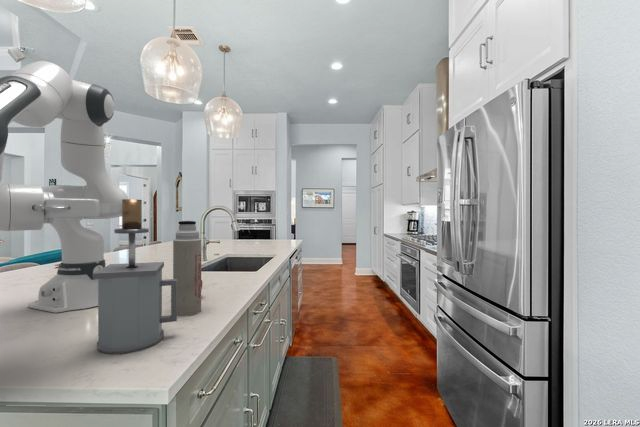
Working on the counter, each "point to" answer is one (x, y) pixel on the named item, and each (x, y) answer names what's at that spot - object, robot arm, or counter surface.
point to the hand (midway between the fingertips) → (111, 208)
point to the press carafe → (132, 306)
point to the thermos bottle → (187, 268)
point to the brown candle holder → (131, 224)
